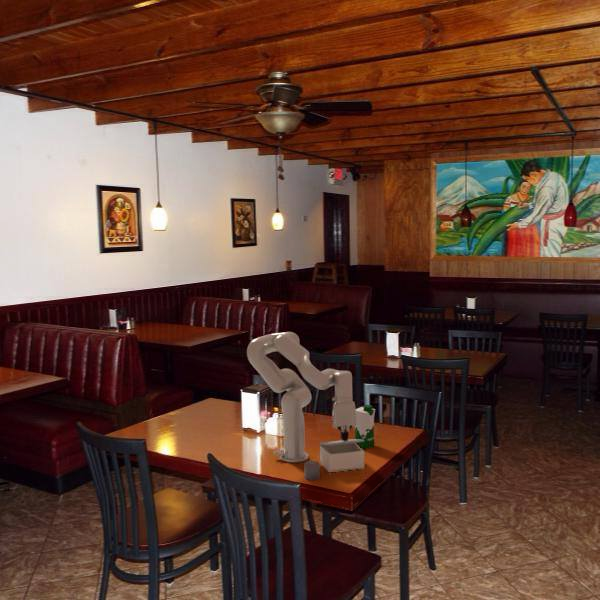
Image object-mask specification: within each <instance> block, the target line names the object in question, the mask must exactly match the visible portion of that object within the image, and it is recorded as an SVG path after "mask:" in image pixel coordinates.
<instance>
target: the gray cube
mask: <svg viewBox="0 0 600 600" xmlns="http://www.w3.org/2000/svg"><path fill="white" fill-rule="evenodd" d="M303 465H304V466H303V468H304V470H303V471H304V479H305V480H308V481H317V480H319V479H320V475H321V474H320V472H321V471H320V467H321V466H320V461H317V460H306V461H304V463H303ZM316 479H317V480H316Z"/></svg>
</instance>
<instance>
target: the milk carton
mask: <svg viewBox="0 0 600 600" xmlns="http://www.w3.org/2000/svg"><path fill="white" fill-rule="evenodd" d="M375 413H376V409H375V408H373V406H372V405H370V404H365V405H363V406H360V407H358V408H356V416H357V423H356V426H354V439H360V440H364V442H355V443H356V444H357V445H358V446H359V447H361V449H363V448H366V449H365V450H368V449H370V448H372V447H374V446H376V445H375V444H376V443H375ZM373 445H374V446H373ZM371 446H372V447H371ZM369 447H370V448H369ZM367 448H368V449H367Z"/></svg>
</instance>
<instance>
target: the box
mask: <svg viewBox="0 0 600 600" xmlns="http://www.w3.org/2000/svg"><path fill="white" fill-rule="evenodd" d="M319 460H320V461H319V463H321V465H322V466H323V467H324V469H325V470H326V472H327V473H328V472H329V473H328V474H331V473H330V472H336V473H339V472H338V471H344V472H349V471H348V470H353V471H355V470H354V469H362V468H364V469H365V451H364V450H363V448H360V447H359V446H358V445H357V444H356V443H345V444H336V445H320V444H319ZM362 470H363V469H362Z"/></svg>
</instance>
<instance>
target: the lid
mask: <svg viewBox="0 0 600 600" xmlns="http://www.w3.org/2000/svg"><path fill="white" fill-rule="evenodd" d="M355 442H364V440H360V439H355V438H354V439H353V438H352V439H348V441H343V440H342V439H341V440H334V441H324V442H319V444H318V445H319V446H320V445H336V444H345V443H355Z"/></svg>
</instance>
